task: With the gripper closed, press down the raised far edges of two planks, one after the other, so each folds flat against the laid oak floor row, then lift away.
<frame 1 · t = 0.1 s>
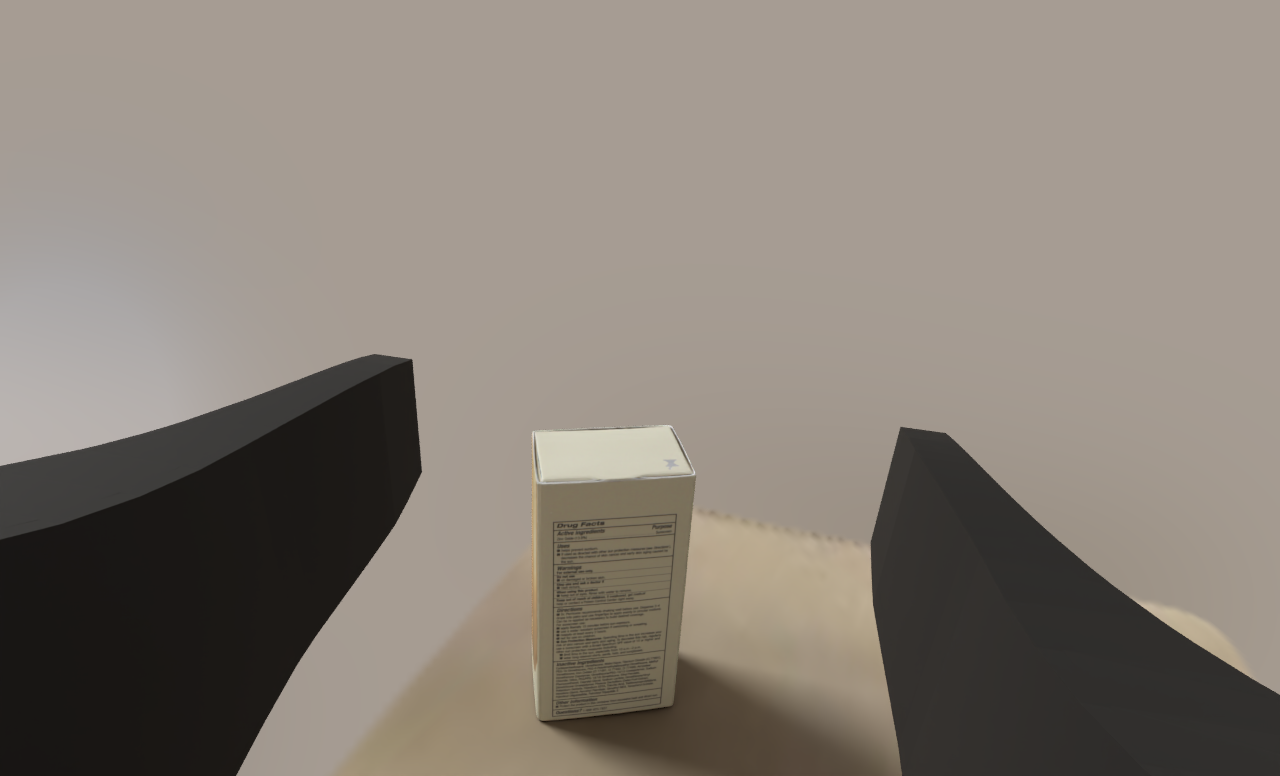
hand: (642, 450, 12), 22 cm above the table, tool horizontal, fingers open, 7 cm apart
skincare box: (596, 683, 36), on the table
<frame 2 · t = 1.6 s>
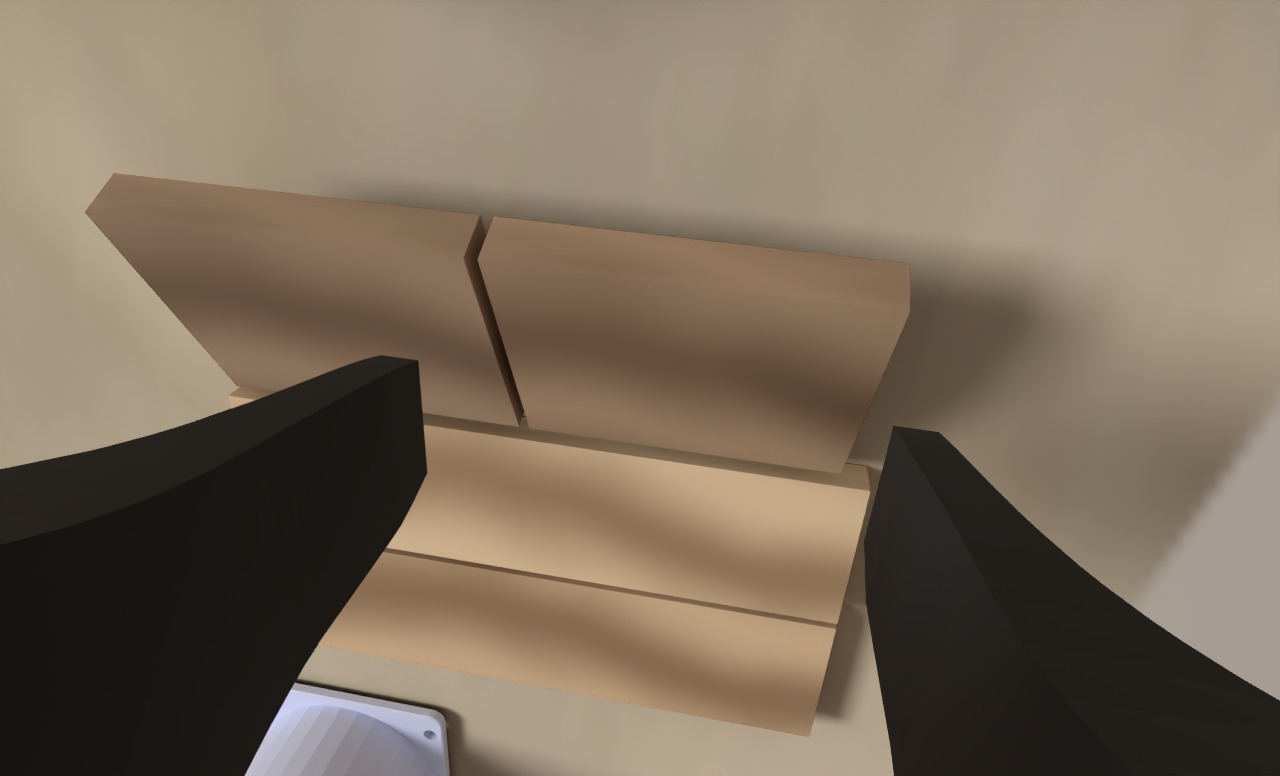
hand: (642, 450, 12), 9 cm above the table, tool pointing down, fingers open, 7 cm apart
laid oak row: (544, 550, 25), on the table
plank 2: (338, 313, 20), point 2 cm above the table, hinge at 30.0°
plank 1: (687, 360, 19), point 2 cm above the table, hinge at 30.0°
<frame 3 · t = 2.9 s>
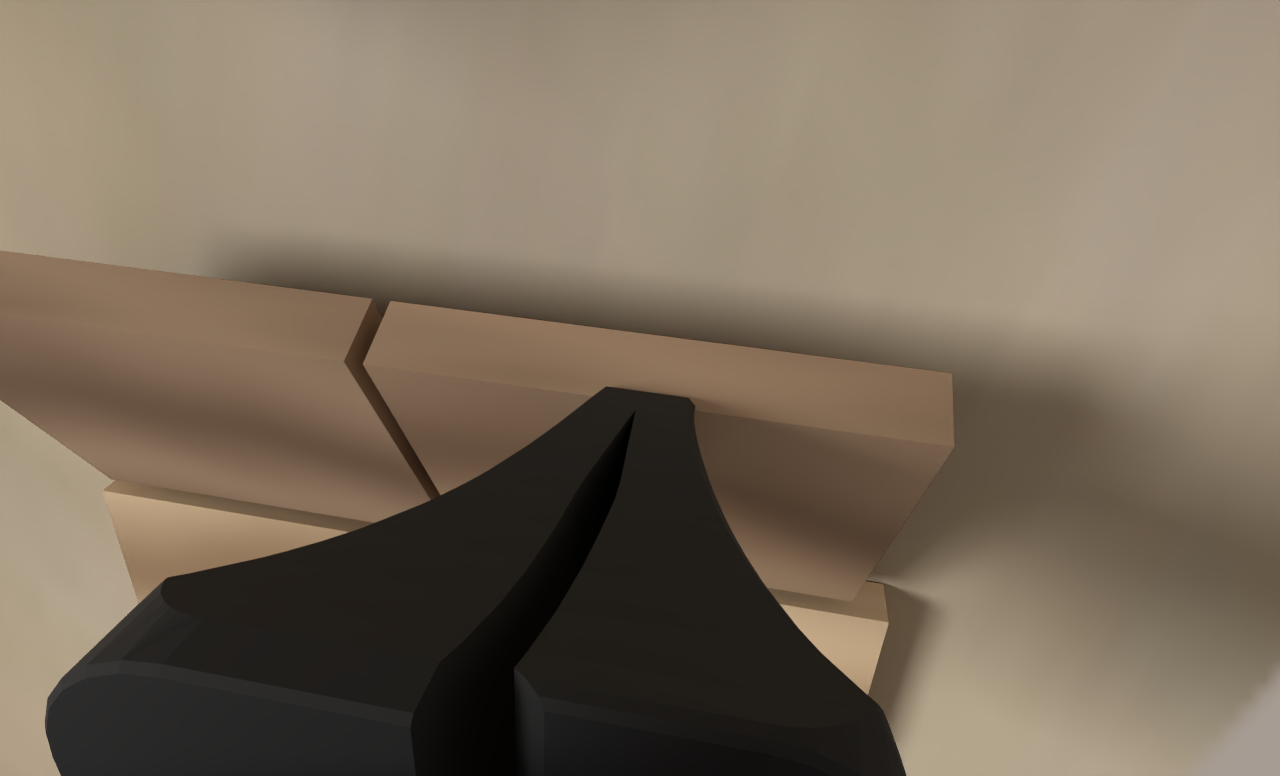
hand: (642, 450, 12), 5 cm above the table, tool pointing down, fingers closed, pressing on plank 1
laid oak row: (494, 665, 21), on the table
plank 2: (214, 407, 15), point 2 cm above the table, hinge at 30.0°
plank 1: (655, 473, 14), point 2 cm above the table, hinge at 30.0°, touching gripper
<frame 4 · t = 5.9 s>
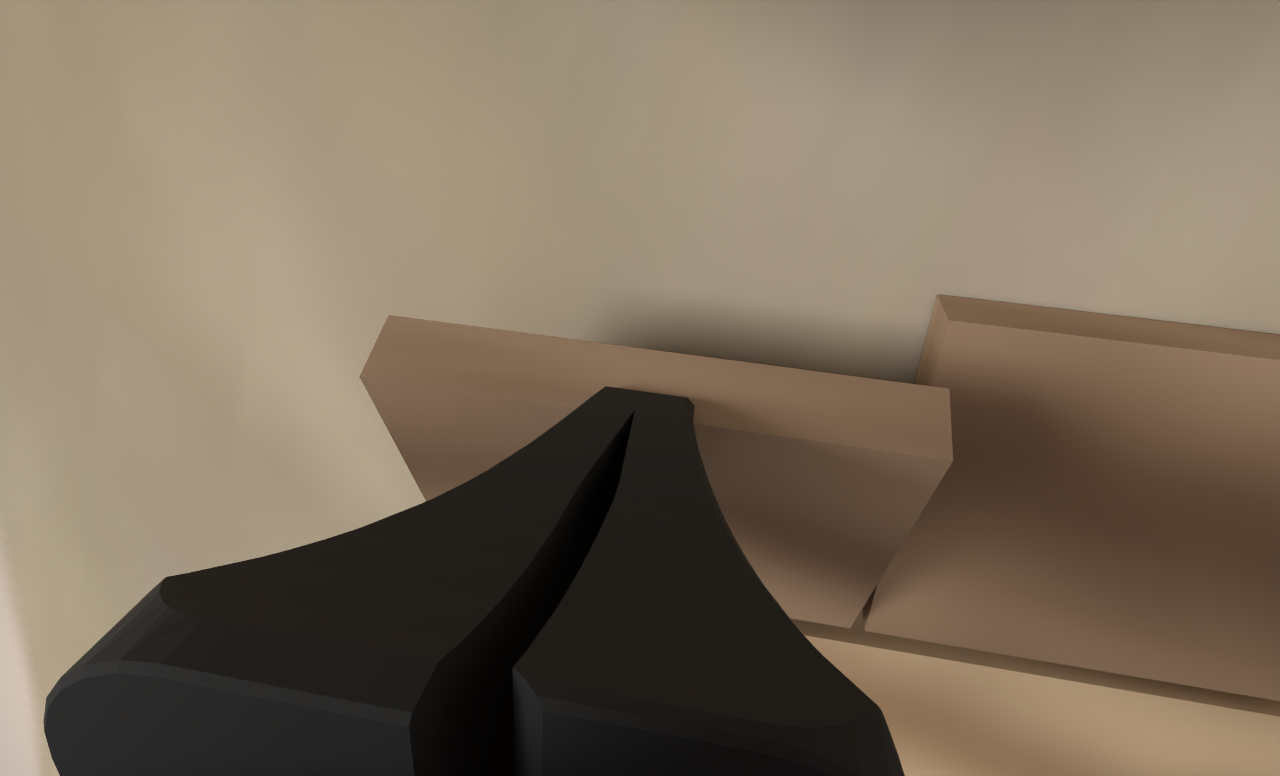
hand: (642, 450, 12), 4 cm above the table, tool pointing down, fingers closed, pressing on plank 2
laid oak row: (823, 752, 20), on the table
plank 2: (652, 493, 14), point 2 cm above the table, hinge at 27.5°, touching gripper
plank 1: (1131, 509, 15), point 1 cm above the table, hinge at 0.4°
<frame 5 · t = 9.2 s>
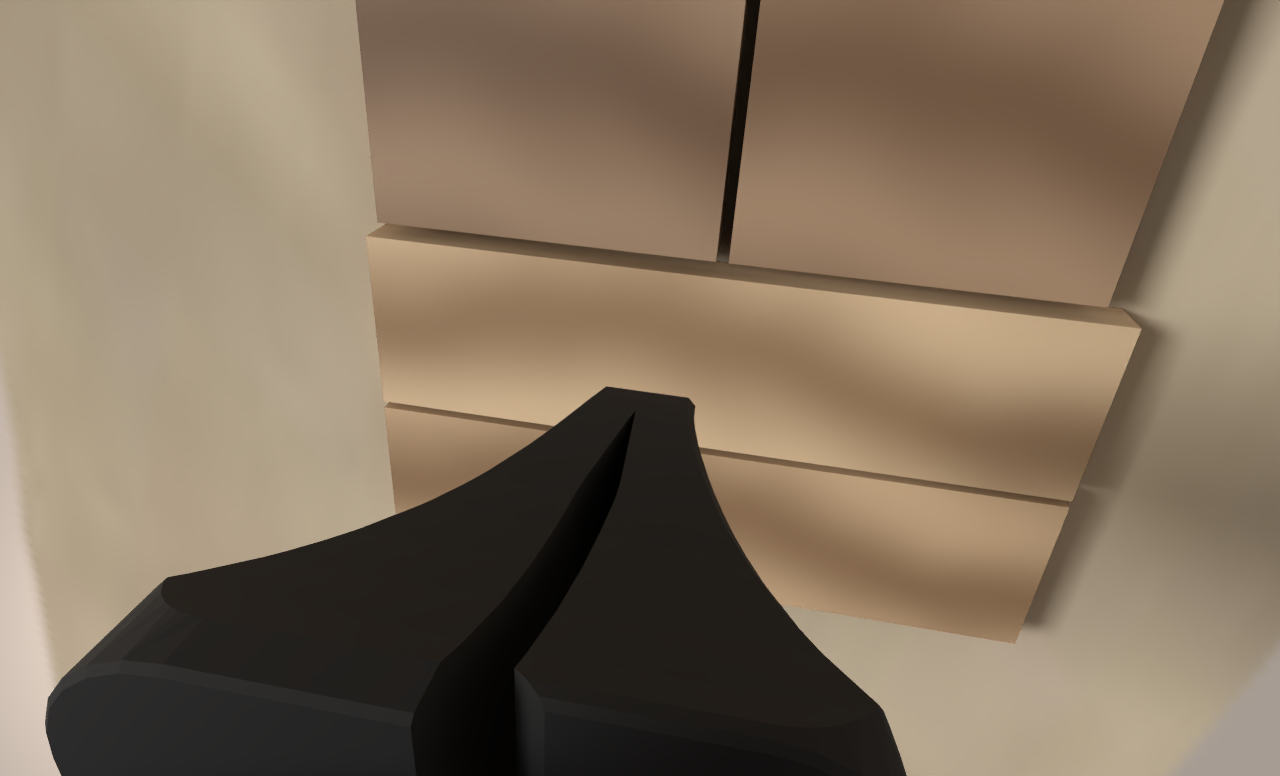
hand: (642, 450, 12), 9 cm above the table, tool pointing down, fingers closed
laid oak row: (713, 429, 22), on the table
plank 2: (549, 86, 18), point 1 cm above the table, hinge at 0.0°
plank 1: (946, 122, 17), point 1 cm above the table, hinge at 0.4°
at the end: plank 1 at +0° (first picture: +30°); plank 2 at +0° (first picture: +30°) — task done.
